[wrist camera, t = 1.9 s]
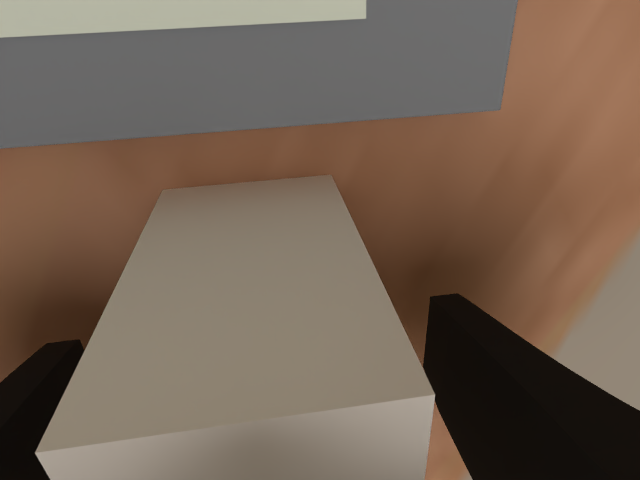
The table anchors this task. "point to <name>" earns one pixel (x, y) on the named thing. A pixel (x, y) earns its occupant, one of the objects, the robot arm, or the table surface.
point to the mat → (241, 64)
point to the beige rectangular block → (246, 350)
